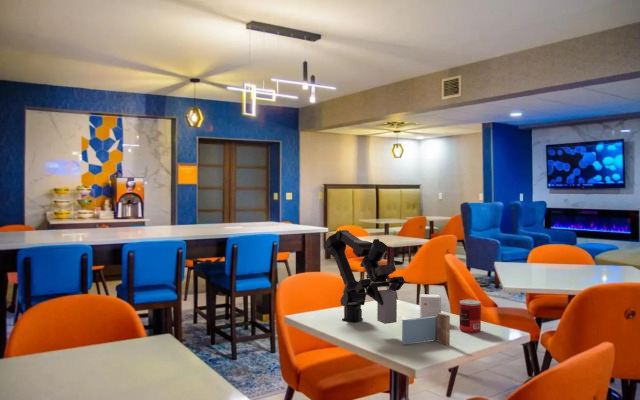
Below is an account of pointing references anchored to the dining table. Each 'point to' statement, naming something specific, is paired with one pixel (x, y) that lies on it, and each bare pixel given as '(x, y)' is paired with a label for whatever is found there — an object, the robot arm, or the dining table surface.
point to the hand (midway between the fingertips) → (389, 304)
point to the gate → (419, 330)
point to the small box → (429, 305)
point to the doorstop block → (387, 307)
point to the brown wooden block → (443, 328)
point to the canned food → (470, 316)
